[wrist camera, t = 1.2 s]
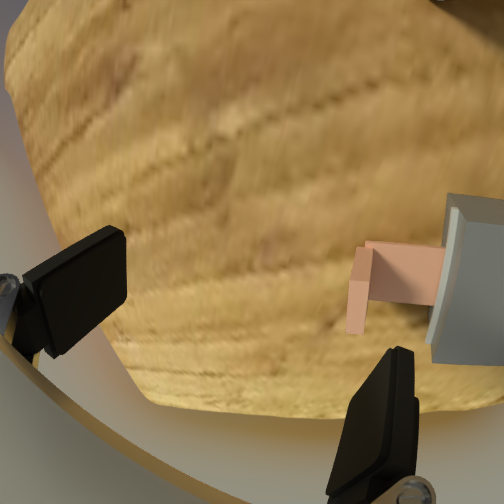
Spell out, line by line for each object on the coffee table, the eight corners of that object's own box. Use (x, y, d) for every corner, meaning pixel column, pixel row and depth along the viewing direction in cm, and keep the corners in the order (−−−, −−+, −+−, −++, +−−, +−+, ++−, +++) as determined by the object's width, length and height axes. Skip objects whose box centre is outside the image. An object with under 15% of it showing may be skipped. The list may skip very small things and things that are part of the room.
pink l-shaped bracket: (529, 255, 21) (554, 291, 16) (513, 308, 23) (529, 349, 18) (357, 239, 28) (349, 274, 22) (354, 296, 30) (344, 337, 25)
